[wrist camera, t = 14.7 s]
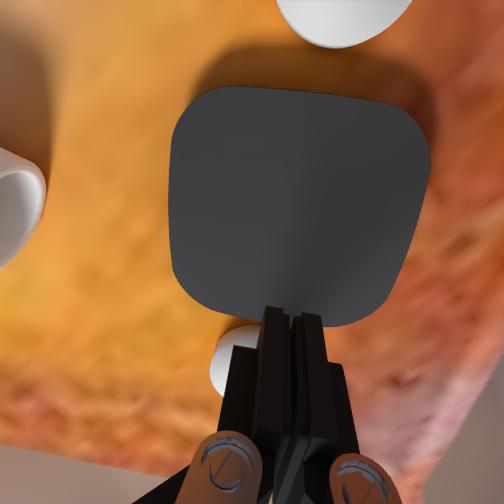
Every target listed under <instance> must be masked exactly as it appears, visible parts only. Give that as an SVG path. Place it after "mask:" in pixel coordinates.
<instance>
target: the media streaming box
mask: <svg viewBox="0 0 504 504" xmlns="http://www.w3.org/2000/svg"><path fill="white" fill-rule="evenodd" d="M430 168H431V160H430V151H429V146H428V143H427V140H426V137H425V135H424V133H423V131H422V129H421V128H420V126H419V125H418V123H417V122H416V121H415V120H414V119H413V118H412V117H411V116H410V115H409V114H408V113H406V112H405V111H403V110H402V109H400V108H398V107H396V106H394V105H391V104H386V103H381V102H375V101H370V100H364V99H358V98H352V97H345V96H338V95H331V94H324V93H316V92H307V91H298V90H287V89H275V88H260V87H240V86H226V87H220V88H217V89H213V90H211V91H209V92H206V93H205V94H203V95H201V96H200V97H198V98H197V99H195V100H194V101H193V102H192V103H191V104H190V105H189V106H188V107H187V108H186V110H185V111H184V112H183V114H182V115H181V117H180V118H179V120H178V122H177V124H176V127H175V129H174V132H173V136H172V141H171V153H170V167H169V193H168V214H169V238H170V250H171V260H172V267H173V272H174V274H175V276H176V278H177V280H178V282H179V283H180V285H181V286H182V288H183V289H184V290H185V291H186V292H187V293H188V294H189V295H190V296H191V297H192V298H193V299H194V300H196V301H197V302H199V303H200V304H202V305H203V306H205V307H207V308H209V309H211V310H213V311H217V312H220V313H224V314H228V315H232V316H236V317H241V318H246V319H251V320H256V321H262V318H263V313H264V309H265V306H272V307H277V308H283V311H284V314H289V315H290V325H292V321H293V318H294V316H300V315H301V313H302V312H305V313H311V314H316V315H320V316H321V320H322V326H323V327H338V326H343V325H347V324H351V323H353V322H356V321H358V320H361V319H363V318H365V317H366V316H368V315H370V314H371V313H373V312H374V311H375V310H377V309H378V308H379V307H380V306H381V305H382V304H383V303H384V302H385V301H386V299H387V298H388V296H389V294H390V292H391V290H392V288H393V286H394V284H395V281H396V279H397V277H398V275H399V272H400V270H401V268H402V265H403V262H404V260H405V257H406V255H407V252H408V249H409V246H410V243H411V241H412V238H413V234H414V231H415V228H416V225H417V221H418V218H419V215H420V211H421V207H422V203H423V200H424V195H425V191H426V187H427V183H428V178H429V173H430Z"/></svg>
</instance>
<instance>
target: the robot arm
mask: <svg viewBox="0 0 504 504" xmlns="http://www.w3.org/2000/svg"><path fill="white" fill-rule="evenodd" d="M272 491H273V497H272V500H273V502H272V503H273V504H402V501H401V499H400V496H399V494H398V491H397V489H396V487H395V485H394V483H393V481H392V479H391V477H390V476H389V475H388V474H387V472H386V471H385V470H384V469H383V468H382V467H381V466H380V465H379V464H377V463H376V462H375V461H374V460H372V459H370V458H368V457H366V456H364V455H361V454H360V451H359V446H358V440H357V435H356V430H355V425H354V420H353V415H352V410H351V405H350V400H349V395H348V390H347V385H346V380H345V375H344V371H343V367H342V365H341V364H338V363H332V362H328V359H327V353H326V346H325V339H324V333H323V326H322V320H321V316H320V315H316V314H311V313H305V312H302V313H301V315H300V316H294V318H293V321H292V325H291V329H290V315H289V314H284V311H283V308H277V307H272V306H265V309H264V313H263V318H262V323H261V327H260V332H259V336H258V341H257V346H256V349H255V348H250V347H244V346H238V345H233V350H232V355H231V360H230V365H229V371H228V376H227V381H226V386H225V392H224V397H223V402H222V407H221V413H220V418H219V423H218V428H217V432H216V433H214V434H211V435H209V436H208V437H207V438H206V439H204V440H203V441H202V442H201V443H200V445H199V447H198V449H197V450H196V452H195V454H194V457H193V459H192V462H191V464H190V465H188V466H187V467H185V468H184V469H182V470H181V471H180V472H178V473H177V474H175V475H174V476H172V477H171V478H169V479H168V480H166V481H165V482H163V483H162V484H160V485H159V486H157V487H156V488H155V489H153V490H152V491H150V492H148V493H147V494H145V495H144V496H143V497H141V498H140V499H138V500H137V501H135V502H134V503H132V504H268V503H269V500H270V497H271V494H272Z"/></svg>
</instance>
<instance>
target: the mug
mask: <svg viewBox="0 0 504 504" xmlns="http://www.w3.org/2000/svg"><path fill="white" fill-rule="evenodd" d="M45 200H46V183H45V179H44V176H43V173H42V172H41V170H40V169H39V168H38V166H36V165H35V164H34V163H32V162H31V161H29V160H26V159H24V158H22V157H20V156H18V155H16V154H14V153H11V152H9V151H7V150H5V149H3V148H1V147H0V270H1V269H2V268H4V267H5V266H6V265H7V264H9V263H10V262H11V261H12V260H13V259H14V258H15V257H16V256H17V255H18V253H19V252H20V251H21V250H22V249H23V247H24V246H25V245H26V243H27V242H28V241H29V239H30V238H31V236H32V234H33V233H34V231H35V229H36V227H37V225H38V223H39V220H40V218H41V215H42V212H43V209H44V205H45Z"/></svg>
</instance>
